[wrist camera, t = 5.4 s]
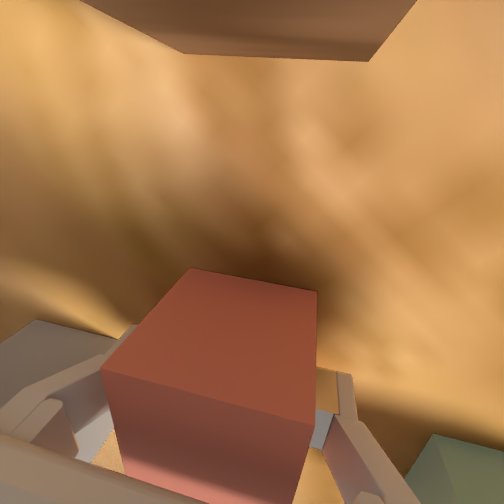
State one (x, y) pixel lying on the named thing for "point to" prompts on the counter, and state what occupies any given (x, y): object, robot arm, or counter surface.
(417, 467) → the muted teal block
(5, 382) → the slate grey block
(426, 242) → the counter surface
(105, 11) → the walnut block
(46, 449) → the robot arm
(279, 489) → the brick-red block
